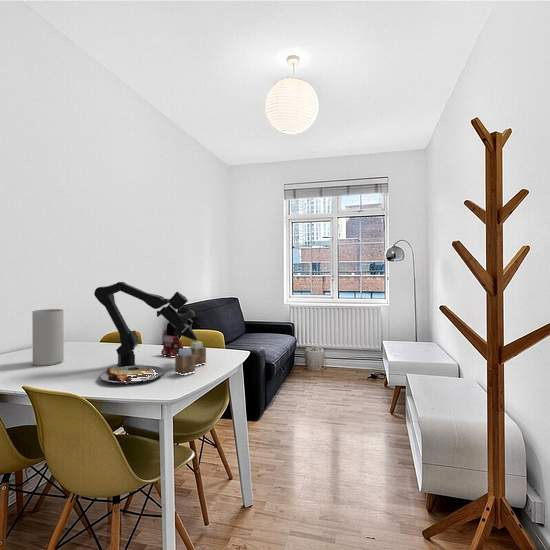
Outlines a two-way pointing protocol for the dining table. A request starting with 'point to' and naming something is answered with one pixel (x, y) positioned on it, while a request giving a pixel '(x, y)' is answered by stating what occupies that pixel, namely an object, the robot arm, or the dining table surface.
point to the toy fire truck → (171, 345)
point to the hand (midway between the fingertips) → (196, 339)
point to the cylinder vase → (47, 337)
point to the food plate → (129, 373)
